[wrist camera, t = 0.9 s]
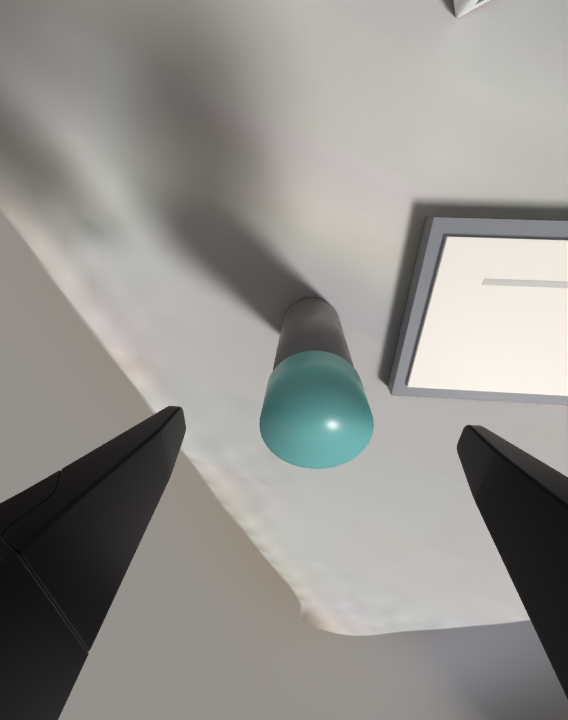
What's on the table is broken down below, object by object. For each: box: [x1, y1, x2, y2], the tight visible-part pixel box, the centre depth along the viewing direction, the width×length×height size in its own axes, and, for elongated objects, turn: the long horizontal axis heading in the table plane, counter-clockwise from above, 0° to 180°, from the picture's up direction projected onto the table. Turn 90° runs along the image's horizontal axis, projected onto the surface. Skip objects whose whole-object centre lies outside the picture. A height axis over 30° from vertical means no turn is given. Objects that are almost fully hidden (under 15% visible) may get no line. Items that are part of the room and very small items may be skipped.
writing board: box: [387, 217, 568, 405], centre depth 16 cm, size 14×10×1 cm
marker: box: [260, 298, 373, 469], centre depth 13 cm, size 4×4×9 cm
